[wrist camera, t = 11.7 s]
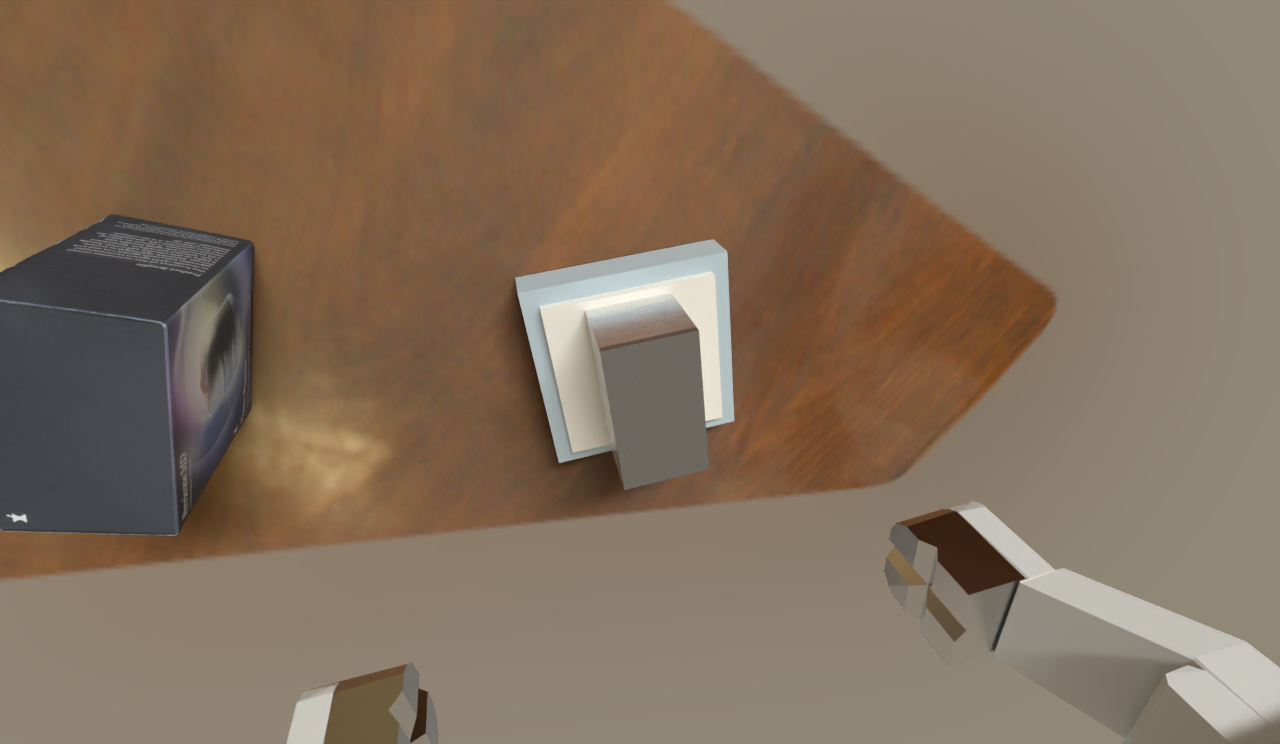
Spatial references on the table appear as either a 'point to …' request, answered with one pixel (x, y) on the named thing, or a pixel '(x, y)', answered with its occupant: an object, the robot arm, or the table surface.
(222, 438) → the small box
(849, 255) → the table surface
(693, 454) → the block
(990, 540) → the robot arm
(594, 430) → the stand
